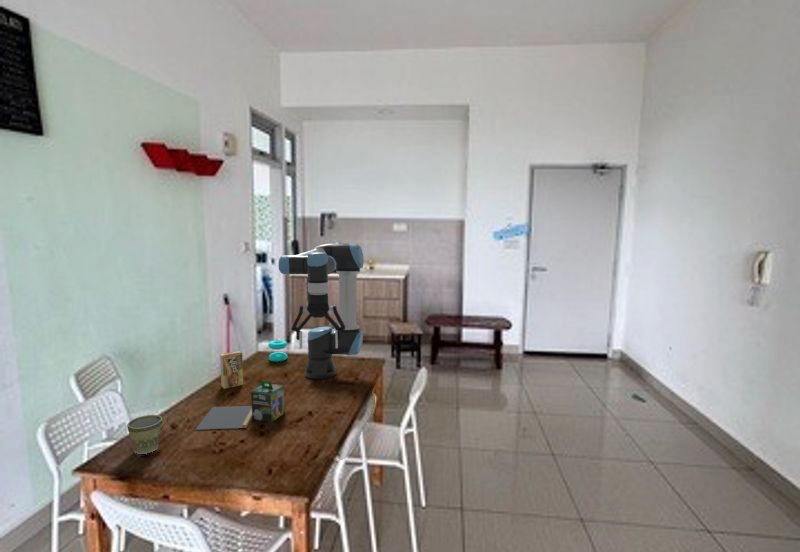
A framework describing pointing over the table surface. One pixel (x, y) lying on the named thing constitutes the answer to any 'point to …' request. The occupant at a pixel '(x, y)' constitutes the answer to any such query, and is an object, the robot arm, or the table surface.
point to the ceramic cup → (145, 433)
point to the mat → (227, 418)
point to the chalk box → (267, 402)
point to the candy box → (231, 369)
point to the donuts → (276, 346)
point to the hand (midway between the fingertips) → (318, 347)
